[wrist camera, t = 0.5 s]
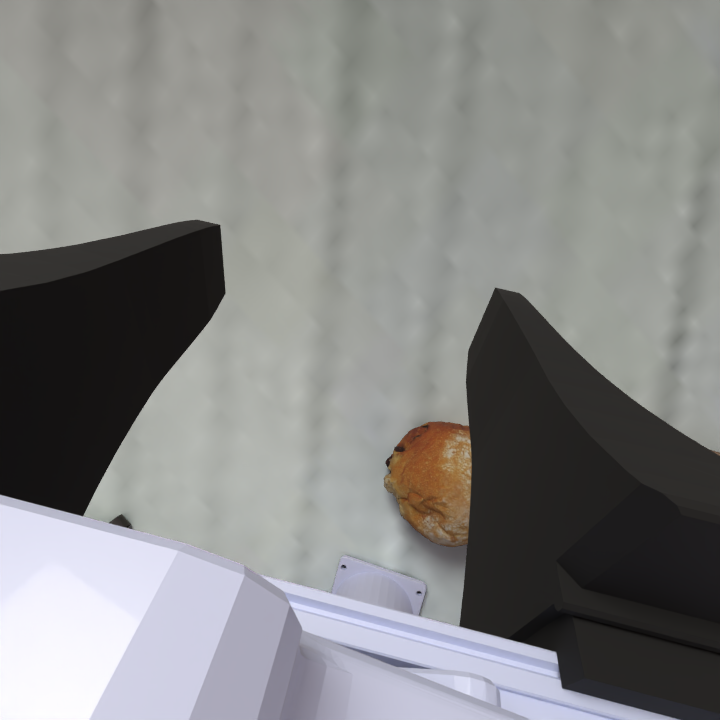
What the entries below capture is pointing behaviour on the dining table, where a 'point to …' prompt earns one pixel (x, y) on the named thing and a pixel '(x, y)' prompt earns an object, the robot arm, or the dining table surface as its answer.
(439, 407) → the dining table surface
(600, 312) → the dining table surface
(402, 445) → the bread roll
